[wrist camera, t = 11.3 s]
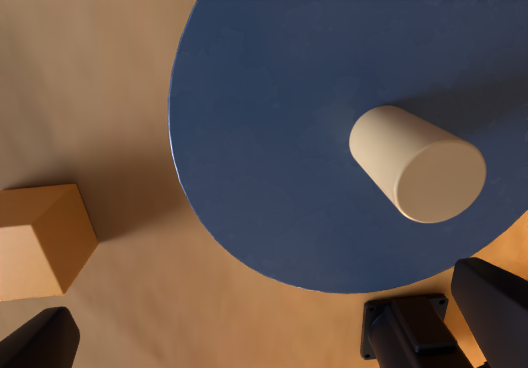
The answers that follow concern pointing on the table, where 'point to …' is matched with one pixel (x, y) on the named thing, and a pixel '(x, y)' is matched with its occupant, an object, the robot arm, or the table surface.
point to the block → (42, 240)
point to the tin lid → (352, 134)
